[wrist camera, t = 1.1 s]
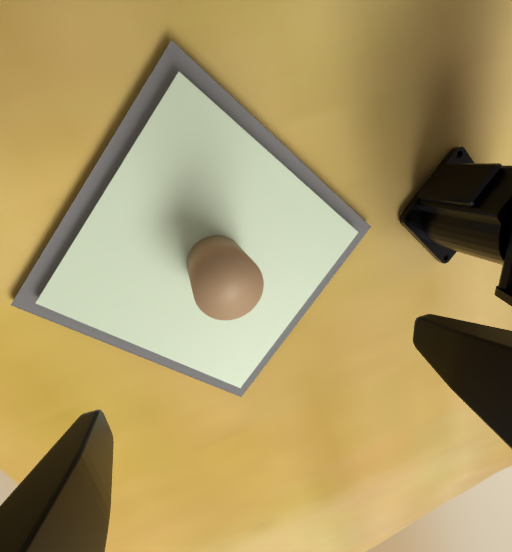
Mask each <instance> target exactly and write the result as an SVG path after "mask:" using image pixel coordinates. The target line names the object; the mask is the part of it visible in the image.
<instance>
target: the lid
mask: <svg viewBox="0 0 512 552" xmlns="http://www.w3.org/2000/svg"><path fill="white" fill-rule="evenodd" d="M357 234H358V231H356V230H355V229H354V228H353V227H352V226H351V225H350V224H349V223H348V222H346V221H345V220H344V219H343V218H342V217H341V216H340V215H339V214H338V213H336V212H335V211H334V210H333V209H332V208H331V207H330V206H329V205H327V204H326V203H325V202H324V201H323V200H322V199H321V198H320V197H319V196H317V195H316V194H315V193H314V192H313V191H312V190H311V189H310V188H309V187H307V186H306V185H305V184H304V183H303V182H302V181H301V180H300V179H298V178H297V177H296V176H295V175H294V174H293V173H292V172H291V171H290V170H288V169H287V168H286V167H285V166H284V165H283V164H282V163H281V162H280V161H278V160H277V159H276V158H275V157H274V156H273V155H272V154H271V153H269V152H268V151H267V150H266V149H265V148H264V147H263V146H262V145H261V144H259V143H258V142H257V141H256V140H255V139H254V138H253V137H252V136H250V135H249V134H248V133H247V132H246V131H245V130H244V129H243V128H242V127H240V126H239V125H238V124H237V123H236V122H235V121H234V120H233V119H232V118H230V117H229V116H228V115H227V114H226V113H225V112H224V111H223V110H221V109H220V108H219V107H218V106H217V105H216V104H215V103H214V102H213V101H211V100H210V99H209V98H208V97H207V96H206V95H205V94H204V93H203V92H201V91H200V90H199V89H198V88H197V87H196V86H195V85H194V84H192V83H191V82H190V81H189V80H188V79H187V78H186V77H185V76H184V75H182V74H181V73H180V72H178V74H177V75H176V77H175V78H174V80H173V82H172V83H171V85H170V87H169V88H168V90H167V91H166V93H165V95H164V96H163V98H162V99H161V101H160V103H159V104H158V106H157V108H156V109H155V111H154V112H153V114H152V116H151V117H150V119H149V120H148V122H147V124H146V125H145V127H144V129H143V130H142V132H141V133H140V135H139V137H138V138H137V140H136V141H135V143H134V145H133V146H132V148H131V150H130V151H129V153H128V154H127V156H126V158H125V159H124V161H123V162H122V164H121V166H120V167H119V169H118V171H117V172H116V174H115V175H114V177H113V179H112V180H111V182H110V183H109V185H108V187H107V188H106V190H105V192H104V193H103V195H102V196H101V198H100V200H99V201H98V203H97V204H96V206H95V208H94V209H93V211H92V213H91V214H90V216H89V217H88V219H87V221H86V222H85V224H84V225H83V227H82V229H81V230H80V232H79V234H78V235H77V237H76V238H75V240H74V242H73V243H72V245H71V246H70V248H69V250H68V251H67V253H66V255H65V256H64V258H63V259H62V261H61V263H60V264H59V266H58V267H57V269H56V271H55V272H54V274H53V276H52V277H51V279H50V280H49V282H48V284H47V285H46V287H45V288H44V290H43V292H42V293H41V295H40V297H39V298H38V300H37V301H36V304H38V305H41V306H43V307H45V308H48V309H50V310H53V311H55V312H57V313H60V314H62V315H65V316H67V317H70V318H72V319H74V320H77V321H79V322H82V323H84V324H86V325H89V326H91V327H94V328H96V329H99V330H101V331H103V332H106V333H108V334H111V335H113V336H115V337H118V338H120V339H123V340H125V341H128V342H130V343H132V344H135V345H137V346H140V347H142V348H144V349H147V350H149V351H152V352H154V353H157V354H159V355H161V356H164V357H166V358H169V359H171V360H173V361H176V362H178V363H181V364H183V365H185V366H188V367H190V368H193V369H195V370H198V371H200V372H202V373H205V374H207V375H210V376H212V377H214V378H217V379H219V380H222V381H224V382H227V383H229V384H231V385H234V386H236V387H239V388H241V387H242V385H243V384H244V383H245V381H246V380H247V379H248V377H249V376H250V375H251V374H252V372H253V371H254V370H255V368H256V367H257V366H258V364H259V363H260V362H261V360H262V359H263V358H264V356H265V355H266V354H267V352H268V351H269V350H270V348H271V347H272V346H273V344H274V343H275V342H276V341H277V339H278V338H279V337H280V335H281V334H282V333H283V331H284V330H285V329H286V327H287V326H288V325H289V323H290V322H291V321H292V319H293V318H294V317H295V315H296V314H297V313H298V312H299V310H300V309H301V308H302V306H303V305H304V304H305V302H306V301H307V300H308V298H309V297H310V296H311V294H312V293H313V292H314V290H315V289H316V288H317V286H318V285H319V284H320V282H321V281H322V280H323V279H324V277H325V276H326V275H327V273H328V272H329V271H330V269H331V268H332V267H333V265H334V264H335V263H336V261H337V260H338V259H339V257H340V256H341V255H342V253H343V252H344V251H345V250H346V248H347V247H348V246H349V244H350V243H351V242H352V240H353V239H354V238H355V236H356V235H357Z"/></svg>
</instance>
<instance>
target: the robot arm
mask: <svg viewBox="0 0 512 552" xmlns="http://www.w3.org/2000/svg"><path fill="white" fill-rule="evenodd" d="M407 217H408V220H407ZM400 222H401V224H402V225H403V226H404V227H405V228H406V229H407V230H408V231H409V232H410V233H411V234H412V235H413V236H414V237H415V238H416V239H417V240H418V241H419V242H420V243H421V244H422V245H423V246H424V247H425V248H426V249H427V250H428V251H429V252H430V253H431V254H432V255H433V256H434V257H435V258H436V260H437V261H439V262H441V263H447V262H448V261H449V260H450V259H451V258H452V257H453V255H454V254H455V253H456V252H461V253H464V254H468V255H471V256H474V257H478V258H481V259H485V260H488V261H491V262H495V263H498V264H501V265H503V267H502V271H501V276H500V280H499V285H498V286H496V290H495V295H496V296H497V297H499V298H500V299H502V300H503V301H505V302H506V303H508V304H509V305H511V306H512V166H502V165H501V164H499V163H474V162H473V160H472V159H471V157H470V156H469V154H468V153H467V152H466V150H465V149H464V148H463V147H455V148H453V149H452V150H451V151H450V152H449V154H448V155H447V156H446V157H445V159H444V160H443V161H442V163H441V164H440V165H439V166H438V168H437V169H436V170H435V172H434V173H433V174H432V176H431V177H430V178H429V179H428V181H427V182H426V183H425V185H424V186H423V187H422V188H421V190H420V191H419V192H418V194H417V195H416V196H415V198H414V199H413V200H412V201H411V203H410V204H409V205H408V207H407V208H406V209H405V211H404V212H403V213H402V215H401V216H400ZM413 343H414V345H415V347H416V348H417V350H418V351H419V352H420V353H421V354H422V356H423V357H424V358H425V359H426V360H427V361H428V363H429V364H430V365H431V366H432V367H433V368H434V370H435V371H436V372H437V373H438V374H439V375H440V377H441V378H442V379H443V380H444V381H445V382H446V383H447V385H448V386H449V387H450V388H451V389H452V390H453V391H454V392H455V393H456V394H457V395H458V396H459V397H460V398H461V399H462V400H463V401H464V402H465V403H466V404H467V405H468V406H469V407H470V408H471V409H472V410H473V411H474V412H475V413H476V414H477V415H478V416H479V417H480V418H481V419H482V420H483V421H484V422H485V423H486V424H487V425H488V426H489V427H490V428H491V429H492V430H493V431H494V432H495V433H496V434H497V435H498V436H499V437H500V438H501V439H502V440H503V441H504V442H505V443H506V444H507V445H508V446H509V447H510V448H512V331H509V330H504V329H500V328H495V327H490V326H485V325H480V324H476V323H471V322H466V321H461V320H456V319H452V318H447V317H442V316H437V315H432V314H427V315H423V316H420V317H418V318H416V320H415V325H414V334H413ZM112 464H113V435H112V432H111V430H110V427H109V425H108V423H107V420H106V418H105V415H104V413H103V412H102V411H101V410H95V411H91V412H88V413H84V414H82V415H81V416H80V417H79V418H78V419H77V420H76V421H75V422H74V423H73V424H72V426H71V427H70V428H69V429H68V430H67V431H66V432H65V434H64V435H63V436H62V437H61V438H60V439H59V440H58V441H57V443H56V444H55V445H54V446H53V447H52V448H51V449H50V450H49V452H48V453H47V454H46V455H45V456H44V457H43V458H42V459H41V461H40V462H39V463H38V464H37V465H36V466H35V467H34V468H33V470H32V471H31V472H30V473H29V474H28V475H27V476H26V478H25V479H24V480H23V481H22V482H21V483H20V484H19V485H18V487H17V488H16V489H15V490H14V491H13V492H12V493H11V494H10V496H9V497H8V498H7V499H6V500H5V501H4V502H3V503H2V505H1V506H0V552H105V546H106V539H107V532H108V525H109V517H110V507H111V487H112Z"/></svg>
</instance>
